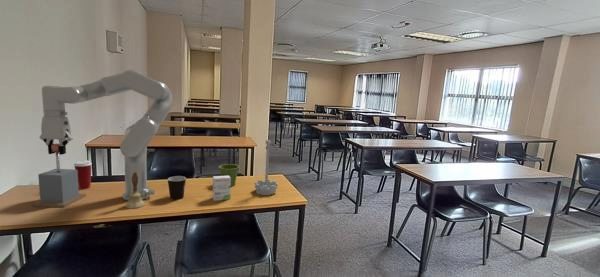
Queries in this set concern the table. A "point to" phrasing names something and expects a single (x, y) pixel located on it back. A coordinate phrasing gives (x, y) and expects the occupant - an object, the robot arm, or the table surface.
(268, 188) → the flag stand
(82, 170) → the paper cup
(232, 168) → the plant pot
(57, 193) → the block
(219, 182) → the ink box
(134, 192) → the hand bell
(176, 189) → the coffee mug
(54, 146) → the plunger
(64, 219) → the table surface
